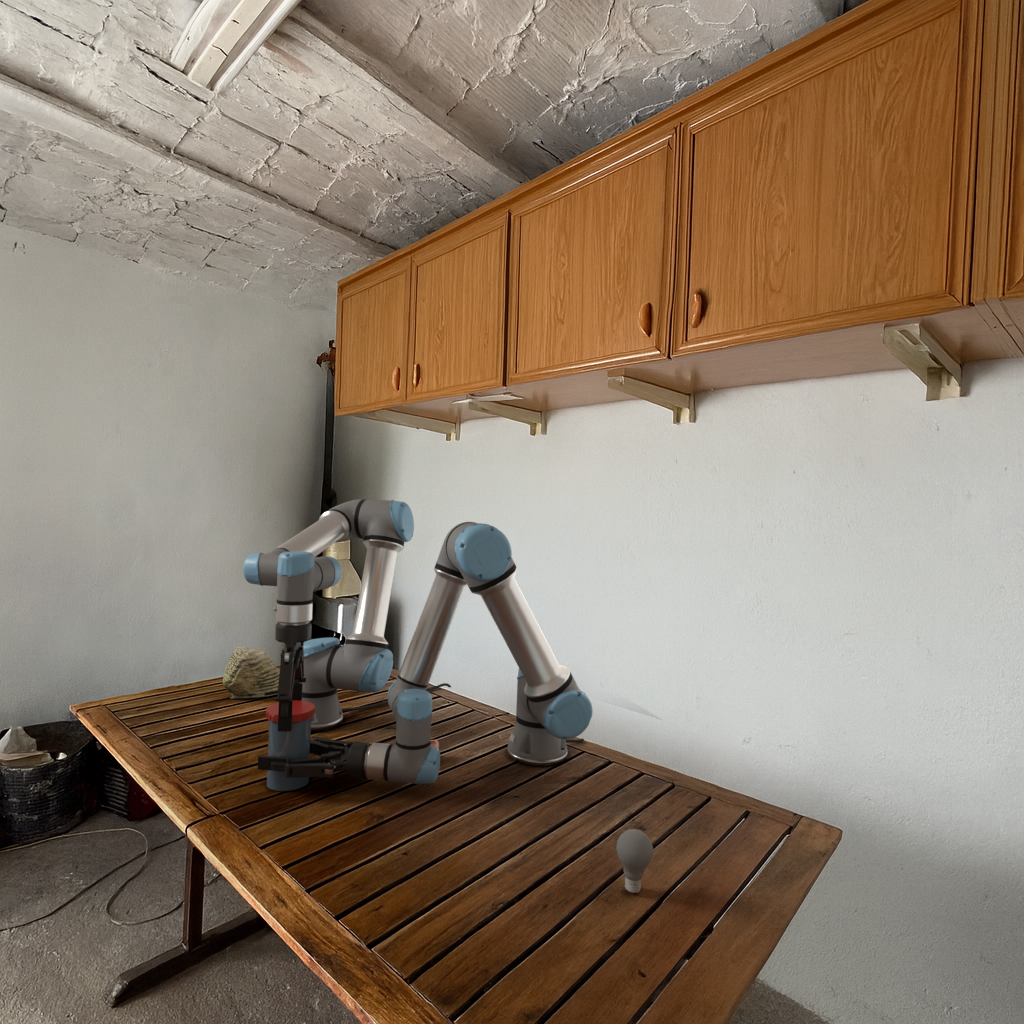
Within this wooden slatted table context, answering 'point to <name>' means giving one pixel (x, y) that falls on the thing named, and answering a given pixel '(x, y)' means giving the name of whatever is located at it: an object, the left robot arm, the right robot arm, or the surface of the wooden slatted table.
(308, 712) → the lid
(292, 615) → the left robot arm
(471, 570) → the right robot arm
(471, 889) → the wooden slatted table surface
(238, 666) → the fossil
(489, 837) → the wooden slatted table surface
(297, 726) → the jar
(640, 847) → the light bulb
